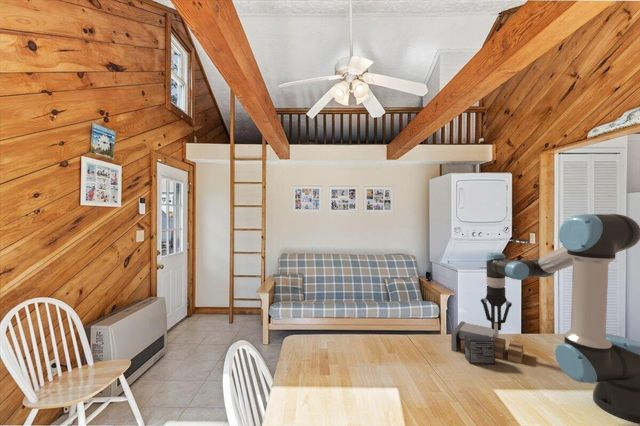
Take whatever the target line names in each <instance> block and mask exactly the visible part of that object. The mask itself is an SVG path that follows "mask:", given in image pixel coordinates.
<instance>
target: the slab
mask: <svg viewBox="0 0 640 426" xmlns="http://www.w3.org/2000/svg"><path fill="white" fill-rule="evenodd" d="M465 335H488V336H489V337H491V338H492V339H493V340H494V342H495V340H496V337H494V329H492V328H491V327H488V326H483V325H477V324H473V323H467V322H465V324H464V325H463V326H462V327H461V329H460V330H459V338H460V339H465Z"/></svg>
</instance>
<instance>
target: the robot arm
mask: <svg viewBox="0 0 640 426" xmlns="http://www.w3.org/2000/svg"><path fill="white" fill-rule="evenodd" d="M558 240H559V243H561V245H562V246H561V247H560V248H558V249H555V250H553V251H550V252H548V253H545V254H544V255H542V256H540V257H538V258H535V259H523V260H522V259H520V260H519V259H518V260H510V259H508V258H507V259H506V255H505V254H504V253H502V252H487V253H486V260H485V262H486V264H485V265H486V285H487V286H486V295H485V297H484V298H481V299H480V302H481V304H482V306H483V311H484V314H485V318H486V320H487V321H489V322H490V325H491V327H490V328H492V329H494V337H496V338H499V335H500V334H499V333H500V332H499V331H501V330H502V324H505V323H506V322H507V318H508V314H509V311H510V308H511V307H512V306H513V303H512V302H511V301H509V300H507V299H508V298H507V297H506V287H505V286H506V278H509V279H512V280H517V281H523V280H525V279H527V278H547V277H548V278H549V277H552V276H554V275H555V273H556V272H558V271H562V270H563V269H566V268H569V267H572V276H571V278H572V279H571V305H570V306H571V311H570V330H568V331H566V332H565V333H564V339H563V340H564V342H563V343H560V344H558V345H556V347H555V349H554V356H555V359H556V362H557V364H558V366H559V367H560V368H561V371H562V372H563V373H564V374H565V375H566V376H567V377H569V378H570V379H571V380H573V381H575V382H576V383H577V382H578V383H580V384H581V383H583V384H586V383H587V384H595V383H596V385H595V386H594V389H593V391H592V400H593V402H594V404H596V406H598V407H599V408H600V409H602V410H603V411H605V412H607V413H608V414H611V415H614V416H616V417H618V418H621V419H624V420H627V421H629V422H635V423H638V424H639V423H640V341H636V340H633V339H631V338H627V337H624V336H620V335H616V334H610V333H607V310H608V308H607V306H608V289H609V288H608V283H609V280H608V279H609V264H610V263H611V262H613V261H615V260H616V253H618V252H622V251H625V250H629V249H631V248H633V247H634V246H636V245H637V244H638V243H639V242H640V225H639V224H638V222H637V221H635V220H634V219H633V218H631V217H629V216H626V215H624V214H617V213H612V214H611V213H610V214H607V213H606V214H603V213H602V214H601V213H600V214H599V213H598V214H597V213H596V214H595V213H594V214H593V213H591V214H590V213H585V214H576V215H572V216H570V217H568V218H566V220H564V221H563V222H562V224H561V225H560V227H559V230H558ZM487 302H488V303H489V305H490V310H489V306H488V303H487ZM504 304H505V306H506V307H505V310H504V313H503V315H502V306H503V305H504ZM496 309H497V313H496ZM496 314H497V316H496ZM496 317H497V321H496Z"/></svg>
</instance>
